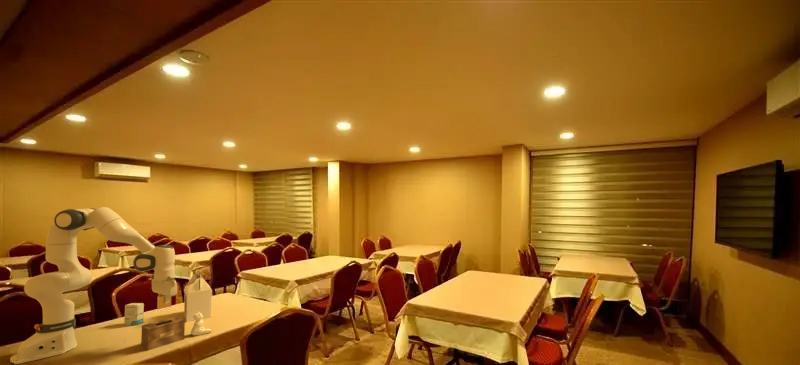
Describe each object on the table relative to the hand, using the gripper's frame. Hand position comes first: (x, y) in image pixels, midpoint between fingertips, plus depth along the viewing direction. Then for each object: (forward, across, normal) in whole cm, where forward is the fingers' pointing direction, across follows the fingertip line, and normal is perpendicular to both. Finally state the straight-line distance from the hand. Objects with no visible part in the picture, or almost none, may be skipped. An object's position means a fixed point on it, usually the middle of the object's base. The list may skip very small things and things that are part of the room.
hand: (164, 302), depth 172 cm
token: (+2, 0, 0) cm, 2 cm away
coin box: (+20, 0, 0) cm, 20 cm away
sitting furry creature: (+21, -5, -16) cm, 26 cm away
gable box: (+21, +29, -31) cm, 47 cm away
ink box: (+20, +47, -4) cm, 51 cm away
